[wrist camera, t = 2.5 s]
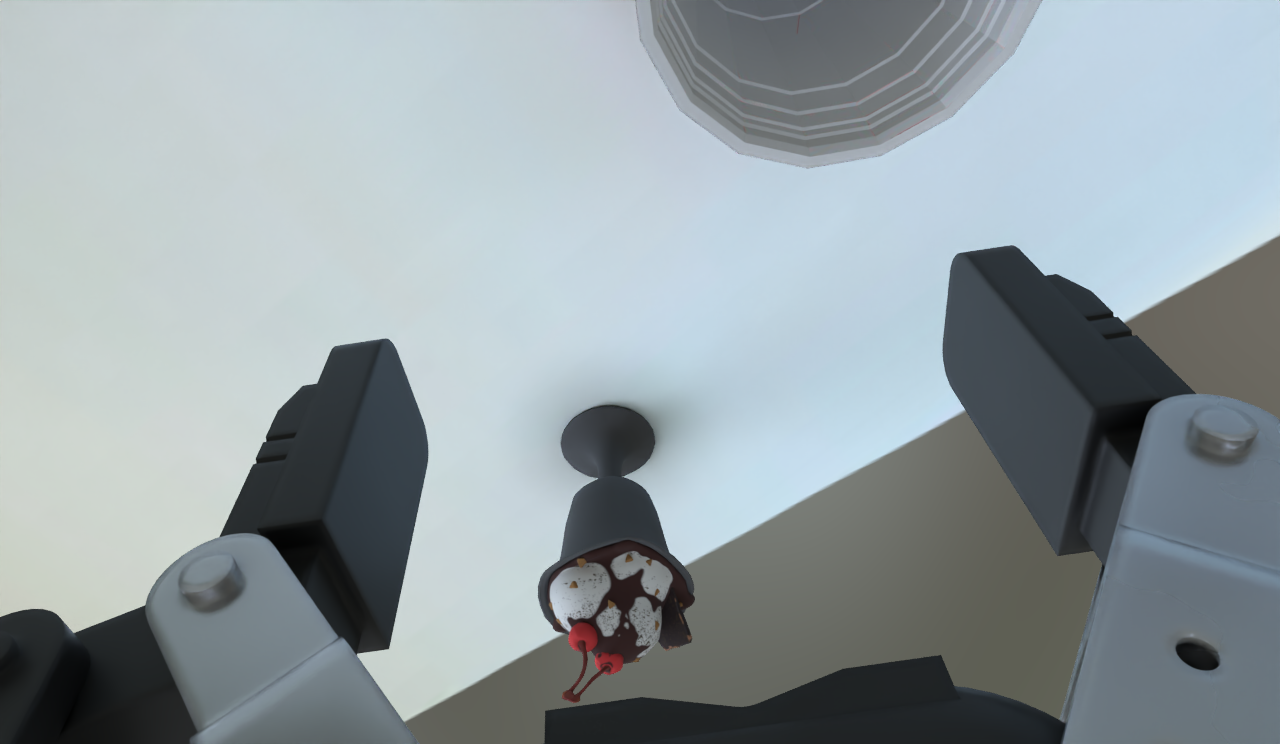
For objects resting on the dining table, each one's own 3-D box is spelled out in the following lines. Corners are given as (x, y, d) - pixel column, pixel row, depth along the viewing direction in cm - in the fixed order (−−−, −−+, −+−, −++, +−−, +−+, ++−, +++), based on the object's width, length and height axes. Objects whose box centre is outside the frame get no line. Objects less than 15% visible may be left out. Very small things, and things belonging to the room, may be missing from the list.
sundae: (518, 429, 42) (497, 690, 30) (629, 371, 41) (654, 622, 29) (587, 505, 46) (593, 765, 34) (692, 454, 44) (738, 709, 32)
